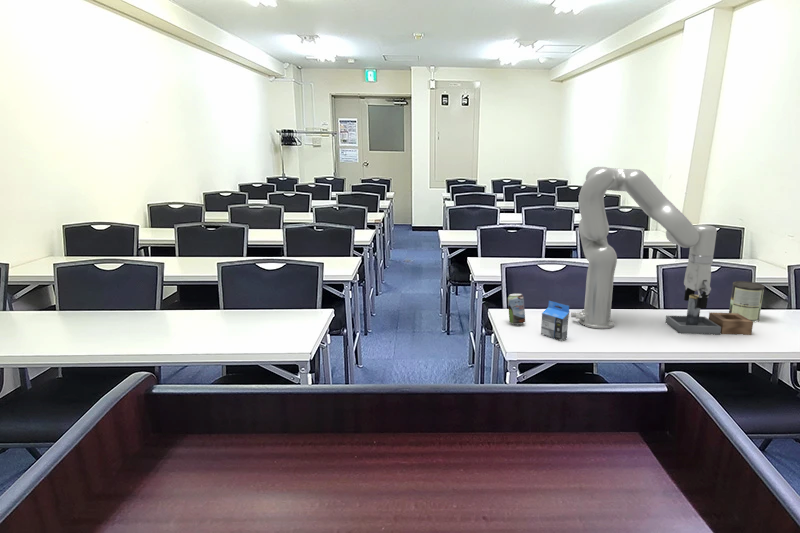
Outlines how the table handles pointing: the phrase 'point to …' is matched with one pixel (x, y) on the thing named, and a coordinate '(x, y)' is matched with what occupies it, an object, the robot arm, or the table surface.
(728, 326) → the block
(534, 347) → the table surface
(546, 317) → the label tape cartridge
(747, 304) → the coffee can
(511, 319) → the beverage can
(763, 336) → the table surface
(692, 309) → the steel pin
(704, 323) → the tray
